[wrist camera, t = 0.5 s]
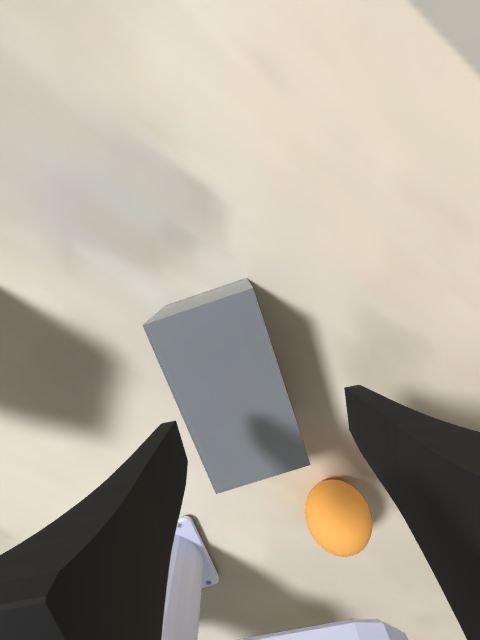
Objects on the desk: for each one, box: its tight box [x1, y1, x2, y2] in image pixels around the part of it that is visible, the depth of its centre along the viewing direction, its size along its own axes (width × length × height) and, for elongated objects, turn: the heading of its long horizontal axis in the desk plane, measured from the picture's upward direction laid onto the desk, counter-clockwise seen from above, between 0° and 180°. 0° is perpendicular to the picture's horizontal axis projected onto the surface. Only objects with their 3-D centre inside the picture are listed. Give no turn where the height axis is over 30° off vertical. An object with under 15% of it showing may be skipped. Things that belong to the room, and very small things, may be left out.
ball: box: [305, 479, 372, 557], centre depth 22 cm, size 5×5×5 cm
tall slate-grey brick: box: [143, 278, 310, 494], centre depth 19 cm, size 6×12×6 cm, turn 19°
